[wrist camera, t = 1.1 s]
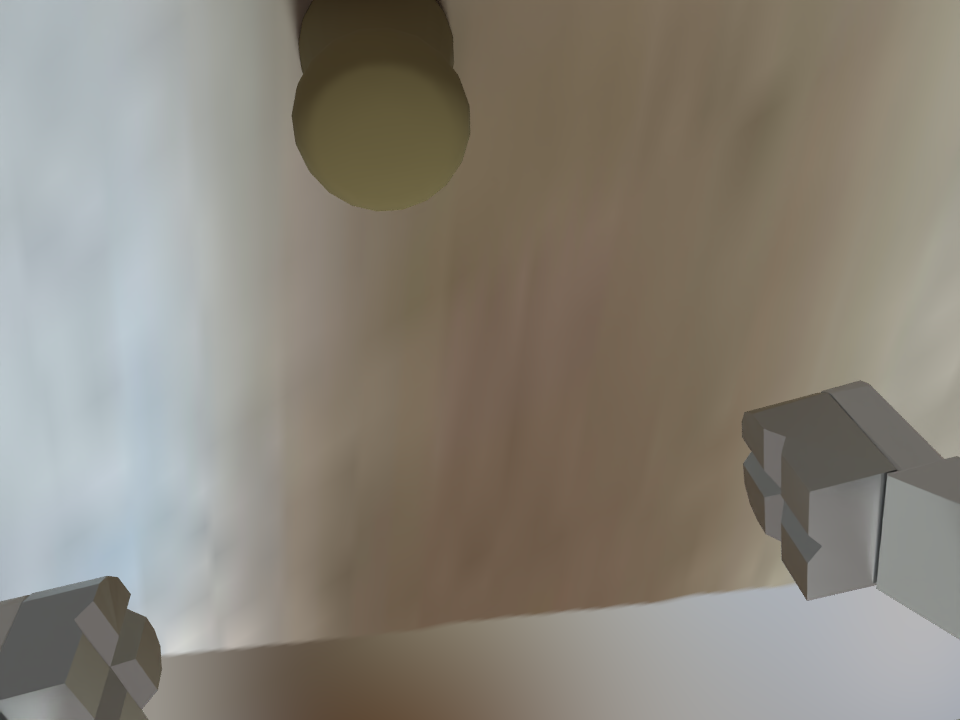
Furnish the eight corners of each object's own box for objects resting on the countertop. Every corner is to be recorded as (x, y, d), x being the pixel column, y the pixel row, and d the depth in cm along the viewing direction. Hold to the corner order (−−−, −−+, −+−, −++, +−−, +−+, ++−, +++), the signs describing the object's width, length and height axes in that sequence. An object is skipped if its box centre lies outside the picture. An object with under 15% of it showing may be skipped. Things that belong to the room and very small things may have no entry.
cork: (277, -13, 30) (240, 51, 21) (437, -48, 30) (470, 2, 21) (323, 144, 33) (309, 260, 24) (467, 113, 33) (507, 217, 24)
